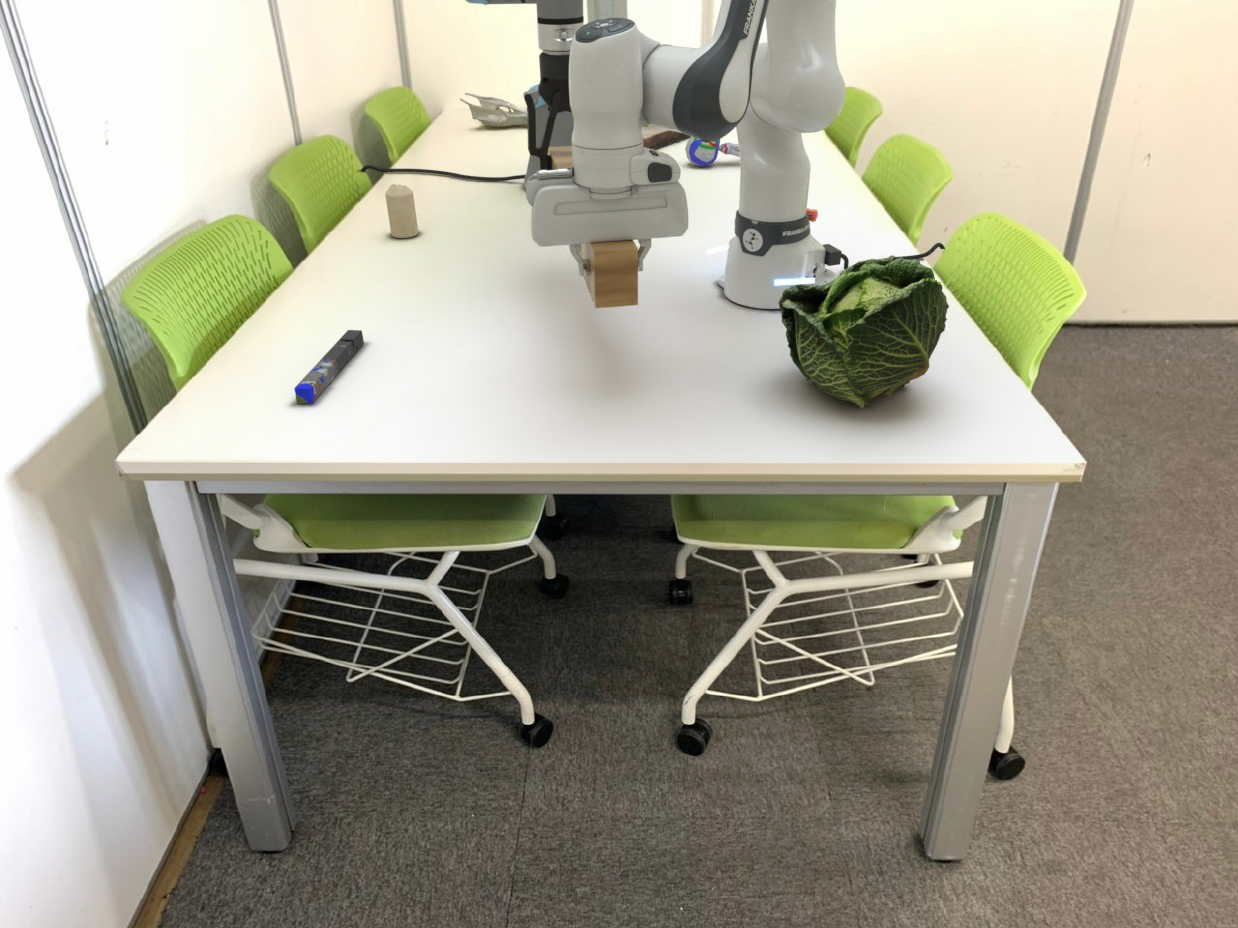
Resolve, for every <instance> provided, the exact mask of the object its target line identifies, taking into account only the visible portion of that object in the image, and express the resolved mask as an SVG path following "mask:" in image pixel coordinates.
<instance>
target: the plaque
mask: <svg viewBox="0 0 1238 928" xmlns="http://www.w3.org/2000/svg"><path fill="white" fill-rule="evenodd" d="M641 130H642V133H643V147H645V148H649V149H652V150H656V149H659V148H662V147H663V146H664V147H665V146H667V145H670V144H672V143H676V142H680V141H682V140H684V139H687V138H688V139H689V138H691V136H689V135H686V134H683V133H681V132H675V131H670V130H664V129H659V128H655V127H653V126H648V125H644V126H643V127H642V129H641Z"/></svg>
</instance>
